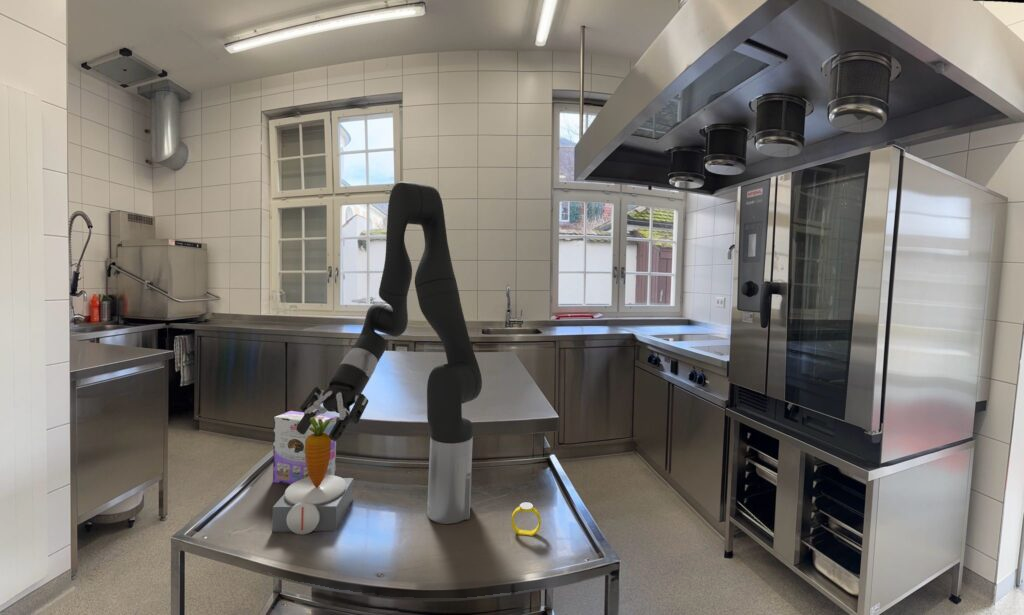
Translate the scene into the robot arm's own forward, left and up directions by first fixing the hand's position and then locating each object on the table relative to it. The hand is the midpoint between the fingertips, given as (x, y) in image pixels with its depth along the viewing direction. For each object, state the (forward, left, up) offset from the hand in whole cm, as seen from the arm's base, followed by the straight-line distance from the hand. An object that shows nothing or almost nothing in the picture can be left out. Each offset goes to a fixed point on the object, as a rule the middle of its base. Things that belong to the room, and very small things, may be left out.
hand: (315, 435), depth 84 cm
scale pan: (0, -1, -12) cm, 12 cm away
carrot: (0, -1, -12) cm, 12 cm away
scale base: (0, -1, -17) cm, 17 cm away
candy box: (+8, -15, -17) cm, 25 cm away
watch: (-44, +7, -17) cm, 48 cm away
